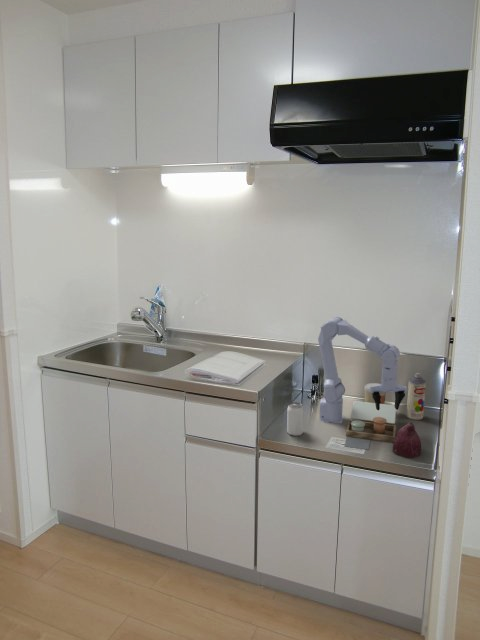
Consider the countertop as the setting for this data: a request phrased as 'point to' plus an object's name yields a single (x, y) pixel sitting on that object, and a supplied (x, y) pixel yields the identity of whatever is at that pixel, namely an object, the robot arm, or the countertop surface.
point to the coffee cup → (370, 397)
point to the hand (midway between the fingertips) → (387, 409)
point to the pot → (379, 425)
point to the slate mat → (357, 443)
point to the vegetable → (407, 442)
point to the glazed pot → (358, 426)
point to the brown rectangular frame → (369, 433)
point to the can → (295, 419)
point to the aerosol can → (416, 397)
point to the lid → (373, 411)
